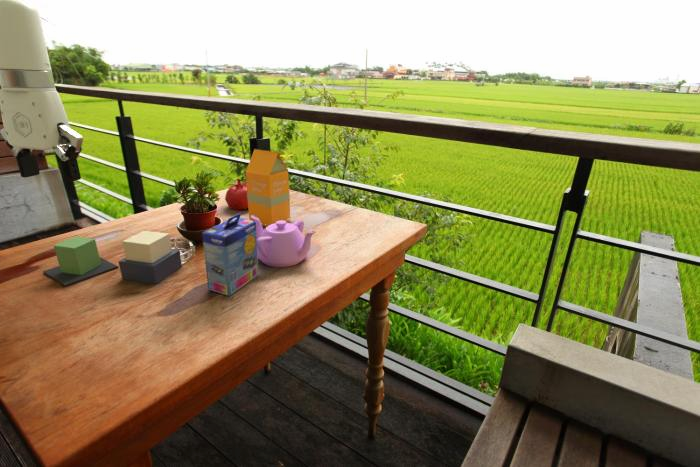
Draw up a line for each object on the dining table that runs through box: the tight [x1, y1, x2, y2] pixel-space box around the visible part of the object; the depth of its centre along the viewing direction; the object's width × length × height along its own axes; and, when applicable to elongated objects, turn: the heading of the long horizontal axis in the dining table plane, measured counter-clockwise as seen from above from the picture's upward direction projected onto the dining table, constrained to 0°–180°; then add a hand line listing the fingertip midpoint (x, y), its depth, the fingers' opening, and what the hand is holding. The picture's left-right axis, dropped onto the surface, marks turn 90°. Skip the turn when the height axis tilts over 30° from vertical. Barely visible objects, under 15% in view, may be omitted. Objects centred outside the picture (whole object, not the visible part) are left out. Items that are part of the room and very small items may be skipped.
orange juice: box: [245, 148, 291, 227], centre depth 107 cm, size 8×9×20 cm
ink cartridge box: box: [201, 212, 259, 297], centre depth 74 cm, size 10×6×14 cm, turn 158°
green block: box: [53, 235, 101, 275], centre depth 80 cm, size 5×5×6 cm
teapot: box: [251, 215, 317, 268], centre depth 87 cm, size 12×14×9 cm
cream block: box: [122, 230, 173, 263], centre depth 78 cm, size 6×6×4 cm
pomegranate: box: [224, 178, 249, 211], centre depth 120 cm, size 10×10×9 cm
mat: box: [42, 256, 119, 288], centre depth 81 cm, size 10×10×1 cm
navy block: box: [117, 248, 183, 285], centre depth 80 cm, size 8×8×4 cm
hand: (51, 178), depth 73 cm, fingers open, 9 cm apart
